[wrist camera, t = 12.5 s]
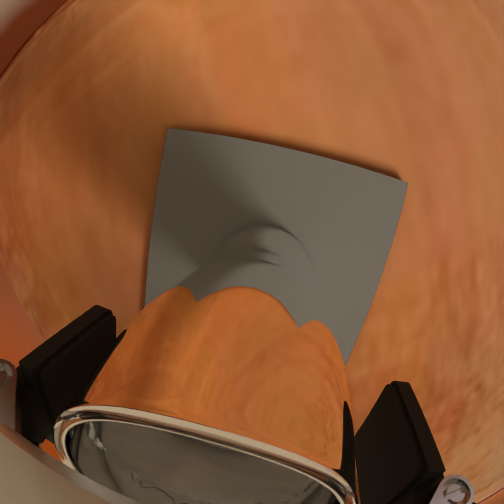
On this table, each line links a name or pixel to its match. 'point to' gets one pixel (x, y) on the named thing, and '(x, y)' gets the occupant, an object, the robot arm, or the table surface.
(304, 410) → the beer glass
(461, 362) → the table surface
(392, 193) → the charcoal mat
